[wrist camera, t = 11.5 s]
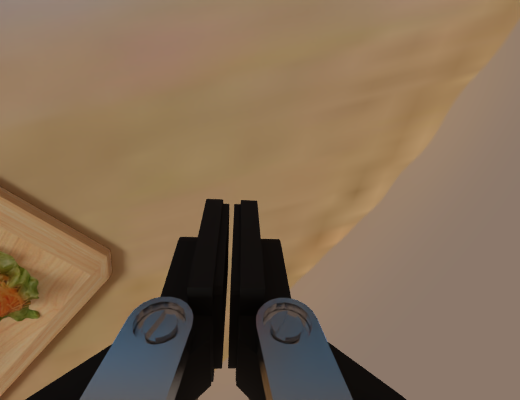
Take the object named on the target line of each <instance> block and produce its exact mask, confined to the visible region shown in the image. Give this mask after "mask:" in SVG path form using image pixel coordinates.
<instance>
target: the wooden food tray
mask: <svg viewBox="0 0 520 400" xmlns="http://www.w3.org/2000/svg"><path fill="white" fill-rule="evenodd" d="M111 273H112V263H111V252H110V249H108V248H106V247H104V246H103V245H101V244H99V243H97V242H96V241H94V240H92V239H90V238H89V237H87V236H85V235H83V234H82V233H80V232H78V231H77V230H75V229H73V228H71V227H70V226H68V225H66V224H64V223H63V222H61V221H59V220H57V219H56V218H54V217H52V216H50V215H49V214H47V213H45V212H43V211H42V210H40V209H38V208H37V207H35V206H33V205H31V204H30V203H28V202H26V201H24V200H23V199H21V198H19V197H17V196H16V195H14V194H12V193H10V192H9V191H7V190H5V189H4V188H2V187H0V396H1V395H2V394H3V393H4V392H5V391H6V390H7V389H8V388H9V387H10V385H11V384H12V383H13V382H14V381H15V380H16V379H17V378H18V377H19V376H20V375H21V373H22V372H23V371H24V370H25V369H26V368H27V367H28V366H29V365H30V364H31V363H32V361H33V360H34V359H35V358H36V357H37V356H38V355H39V354H40V353H41V352H42V351H43V350H44V348H45V347H46V346H47V345H48V344H49V343H50V342H51V341H52V340H53V339H54V338H55V336H56V335H57V334H58V333H59V332H60V331H61V330H62V329H63V328H64V327H65V326H66V324H67V323H68V322H69V321H70V320H71V319H72V318H73V317H74V316H75V315H76V314H77V312H78V311H79V310H80V309H81V308H82V307H83V306H84V305H85V304H86V303H87V302H88V300H89V299H90V298H91V297H92V296H93V295H94V294H95V293H96V292H97V291H98V290H99V288H100V287H101V286H102V285H103V284H104V283H105V282H106V281H107V280H108V279H109V277H110V275H111Z"/></svg>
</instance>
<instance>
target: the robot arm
mask: <svg viewBox="0 0 520 400" xmlns="http://www.w3.org/2000/svg"><path fill="white" fill-rule="evenodd" d="M228 243H229V204H223V200H221V199H206V203H205V208H204V212H203V217H202V221H201V226H200V230H199V235H198V237H180V238H179V240H178V243H177V246H176V249H175V253H174V256H173V259H172V262H171V265H170V269H169V272H168V275H167V278H166V281H165V284H164V288H163V291H162V294H161V297H159V298H154V299H151V300H149V301H147V302H145V303H143V304H141V305H140V306H139V307H137V308H136V309H135V310H134V311H133V312H132V313H131V315H130V316H129V317H128V319H127V320H126V322H125V324H124V325H123V327H122V329H121V331H120V332H119V334H118V336H117V337H116V339H115V341H114V342H113V344H112V345H110V346H108V347H107V348H105V349H104V350H102V351H101V352H99V353H98V354H96V355H94V356H93V357H91V358H90V359H88V360H87V361H85V362H83V363H82V364H80V365H79V366H77V367H76V368H74V369H72V370H71V371H69V372H68V373H66V374H65V375H63V376H62V377H60V378H58V379H57V380H55V381H54V382H52V383H51V384H49V385H47V386H46V387H44V388H43V389H41V390H40V391H38V392H37V393H35V394H33V395H32V396H30V397H29V398H27V399H26V400H198V397H199V396H200V395H201V394H202V393H203V392H205V391H206V390H207V389H208V388H209V387H210V386H211V382H213V377H214V369H217V368H222V358H223V342H224V326H225V310H226V294H227V277H228ZM228 361H229V362H228V368H236V385H237V386H238V387H239V389H241V391H242V392H244V394H245V395H246V396H247V397H248V398H249V400H406V399H405V398H404V397H403V396H401V395H400V394H398V393H397V392H396V391H394V390H393V389H392V388H390V387H389V386H387V385H386V384H385V383H383V382H382V381H381V380H379V379H378V378H376V377H375V376H374V375H372V374H371V373H370V372H368V371H367V370H366V369H364V368H363V367H362V366H360V365H359V364H357V363H356V362H355V361H353V360H352V359H351V358H349V357H348V356H346V355H345V354H344V353H342V352H341V351H340V350H338V349H337V348H335V347H334V346H333V345H331V344H330V343H328V342H327V340H326V338H325V336H324V333H323V331H322V329H321V326H320V324H319V322H318V320H317V318H316V316H315V314H314V313H313V311H312V310H311V309H310V308H309V307H307V306H306V305H305V304H303V303H301V302H299V301H298V300H294V299H291V296H290V290H289V285H288V279H287V274H286V269H285V263H284V258H283V253H282V247H281V242H280V240H279V239H261V238H260V227H259V216H258V205H257V201H249V200H241V204H234V225H233V247H232V268H231V291H230V325H229V359H228Z"/></svg>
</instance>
